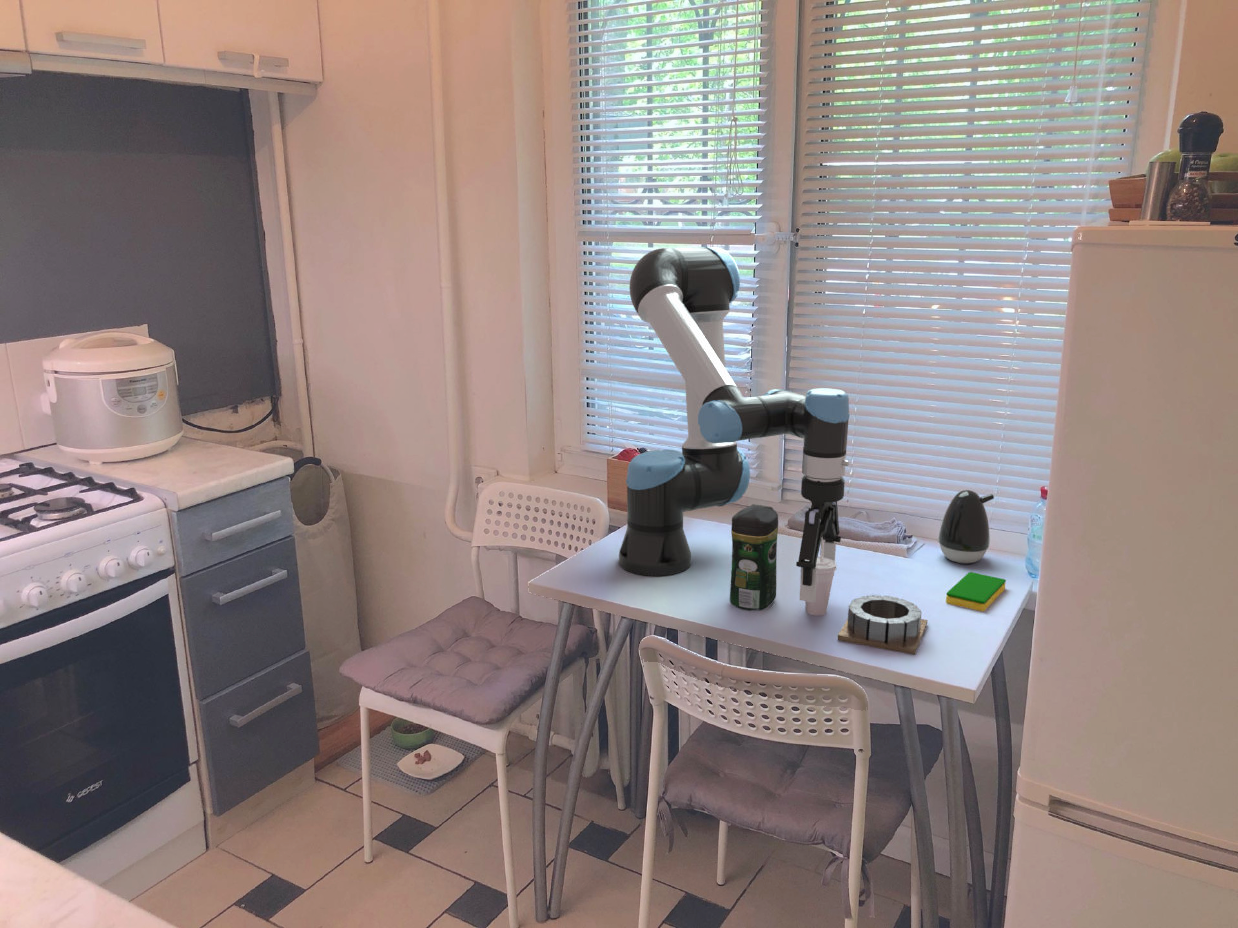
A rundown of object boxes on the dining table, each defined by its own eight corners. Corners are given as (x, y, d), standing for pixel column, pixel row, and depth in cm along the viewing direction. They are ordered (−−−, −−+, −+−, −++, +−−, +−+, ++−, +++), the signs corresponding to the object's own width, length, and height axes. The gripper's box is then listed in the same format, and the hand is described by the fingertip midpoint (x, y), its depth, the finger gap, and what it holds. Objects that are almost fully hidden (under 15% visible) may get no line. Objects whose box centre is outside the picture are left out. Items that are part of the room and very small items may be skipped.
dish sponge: (1005, 590, 189) (1006, 578, 188) (983, 613, 178) (984, 601, 178) (968, 582, 193) (969, 571, 192) (944, 604, 182) (946, 592, 182)
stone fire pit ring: (837, 640, 167) (838, 616, 165) (854, 612, 178) (855, 589, 177) (914, 654, 161) (917, 630, 160) (927, 625, 172) (929, 601, 171)
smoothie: (839, 616, 176) (843, 544, 172) (806, 619, 175) (810, 547, 171) (825, 603, 182) (829, 532, 179) (793, 606, 181) (796, 535, 177)
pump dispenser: (995, 568, 199) (1002, 497, 195) (944, 567, 200) (951, 497, 196) (979, 551, 209) (986, 483, 205) (931, 550, 209) (936, 483, 206)
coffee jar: (741, 589, 189) (744, 499, 184) (780, 597, 185) (784, 504, 180) (723, 607, 180) (725, 513, 176) (763, 615, 177) (767, 519, 172)
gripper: (826, 497, 159) (820, 616, 165) (859, 462, 181) (853, 568, 187) (782, 492, 162) (777, 608, 168) (820, 457, 184) (814, 562, 190)
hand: (817, 587), depth 177 cm, fingers open, 13 cm apart
